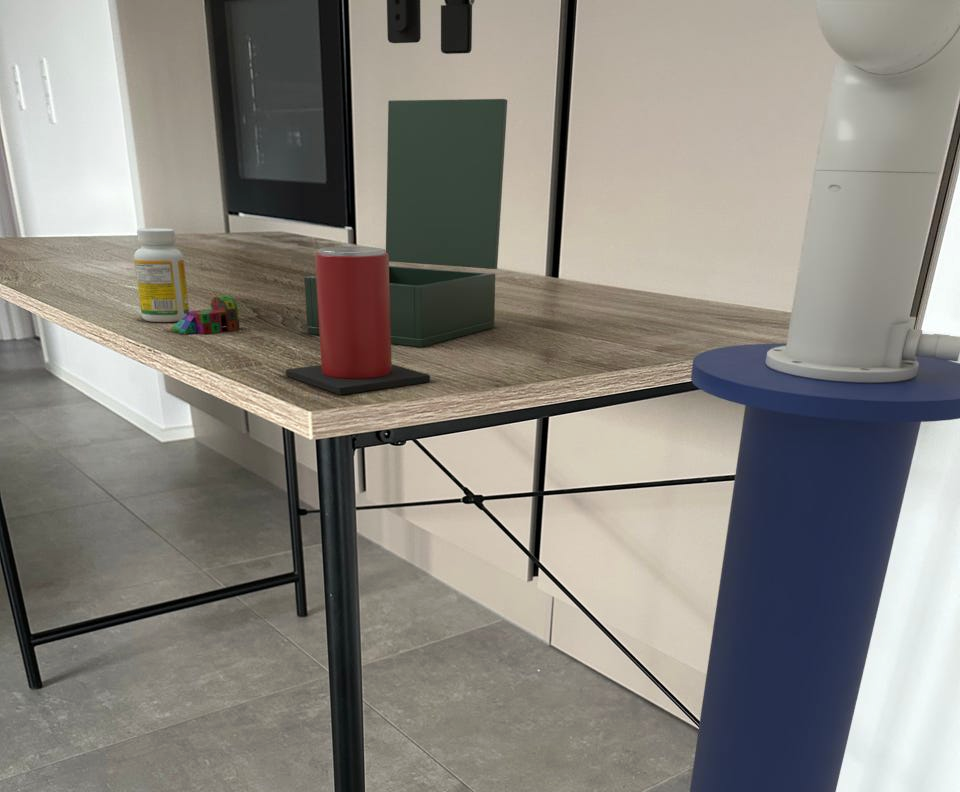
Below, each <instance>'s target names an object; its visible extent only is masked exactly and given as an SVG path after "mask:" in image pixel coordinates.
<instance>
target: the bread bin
mask: <svg viewBox="0 0 960 792" xmlns="http://www.w3.org/2000/svg"><path fill="white" fill-rule="evenodd" d="M303 281H304V295H305V311H306V324H307V325H306V326H307V334H308V335H315V336H320V335H319V318H318V301H317V284H316V274H315V275H308V276H304V277H303ZM389 285H390V323H391V345H400V346H408V347H409V346H410V347H416V348H423V347H426V346H432V345H434V344H438V343H442V342H446V341H449V340H453V339H457V338H460V337H464V336H468V335H470V334H475V333H478V332H482V331H487V330H489V329H493V328H495V311H496V310H495V309H496V273H493V272H481V271H470V270H469V271H467V270H455V269H454V270H452V269H442V268H441V269H440V268H428V267H415V266H401V265H390V264H389Z"/></svg>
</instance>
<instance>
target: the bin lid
mask: <svg viewBox="0 0 960 792" xmlns="http://www.w3.org/2000/svg"><path fill="white" fill-rule="evenodd" d="M507 112H508V99H506V98H473V99H472V98H469V99H465V98H464V99H462V98H461V99H460V98H459V99H403V100H401V99H399V100H395V99H394V100H393V99H392V100H388V104H387V153H386V155H387V157H386V160H387V161H386V163H387V164H386V165H387V166H386V214H385V216H386V218H385V225H386V226H385V253H388V254H389V262H391V263H407V264H419V265H430V266H431V265H432V266H447V267H460V268H471V269H472V268H474V269H486V270H498V262H499V247H500V246H499V245H500V230H501V216H502V215H501V212H502V197H503V181H504V180H503V179H504V162H505V150H506V149H505V148H506V147H505V146H506V133H507V131H506V130H507V115H508V113H507Z"/></svg>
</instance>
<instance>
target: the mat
mask: <svg viewBox="0 0 960 792" xmlns="http://www.w3.org/2000/svg"><path fill="white" fill-rule="evenodd" d="M285 377H288V378H290V379H294V380H296V381H299V382H302V383H305V384H307V385H311V386H312V387H313V386H314V387H316V388H319V389H322V390H325V391H328V392H331V393H333V394H336V395H339V396H343V395H350V394H358V393H364V392H370V391H377V390H378V391H379V390H385V389H390V388H391V389H392V388H397V387H405V386H411V385H418V384H425V383H430V382H431V375H430V374H427V373H424V372H421V371H418V370H414V369H410V368H407V367H404V366H399V365H397V364H393V363H392V372H391V373H390V374H389V375H386V376H383V377H377V378H369V379H342V378H334V377H330V376H326V375H324V374H323V373H322V368H321V364H318V365H311V366H303V367H294V368H287V369H285Z"/></svg>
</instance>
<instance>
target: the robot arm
mask: <svg viewBox="0 0 960 792" xmlns="http://www.w3.org/2000/svg"><path fill="white" fill-rule="evenodd" d="M475 1H476V0H444V4H443V5H442V4H441V5H440V51H441V53H442V54H446V55H456V54H458V55H459V54H470V53H471V52H472V48H473V47H472V46H473V42H472V41H473V6H474V4H475ZM815 8H816V9H815V10H816V16H817V21H818V25H819V28H820V31H821V34H822V37H823V38H824V40H825V41H826V43H827V44H828V46H829V47H830V48H831V50H832V51H833V52H834V53H835V54H836V55H837V57H836V61H835V67H834V72H833V75H832V80H831V84H830V89H829V93H828V97H827V101H826V106H825V110H824V115H823V119H822V124H821V130H820V135H819V141H818V146H817V152H816V159H815V165H814V170H813V175H812V182H811V188H810V194H809V201H808V206H807V212H806V219H805V225H804V232H803V238H802V243H801V250H800V257H799V263H798V270H797V275H796V281H795V288H794V294H793V300H792V307H791V312H790V313H791V314H790V319H789V325H788V332H787V339H786V343H785V344H786V346H781V347H776V348H773V349H770V350H769V351H768V352H767V356H766V362H765V363H766V365H767V366H768V367H769V368H771V369H773V370H775V371H778V372H781V373H785V374H788V375H793V376H797V377H803V378H809V379H816V380H823V381H833V382H845V383H892V382H900V381H906V380H909V379H912V378H914V377H915V376H916V375H917V371H918V367H919V363H918V362H917V361H916V358H917V356H918V357H928V358H935V359H938V360H948V361H952V362H958V361H959V359H960V336H956V335H950V334H939V333H933V334H931V333H923V329H918V328H917V329H915V325H916V320H917V317H916V316H910V314H911V309H912V306H913V301H914V296H915V292H916V287H917V282H918V277H919V273H920V268H921V263H922V259H923V254H924V250H925V245H926V240H927V236H928V231H929V226H930V221H931V217H932V212H933V208H934V203H935V197H936V194H937V188H938V184H939V179H940V176H941V175H940V174H942V173H941V172H942V169H943V164H944V159H945V154H946V150H947V146H948V140H949V136H950V133H951V127H952V123H953V118H954V114H955V111H956V106H957V102H958V98H959V95H960V94H959V93H960V0H815ZM386 25H387V26H386V27H387V41H388V43H391V44H411V43H412V44H414V43H416V44H417V43H419V42H420V41H421V37H422V35H421V33H422V32H421V30H422V29H421V0H386Z"/></svg>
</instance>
